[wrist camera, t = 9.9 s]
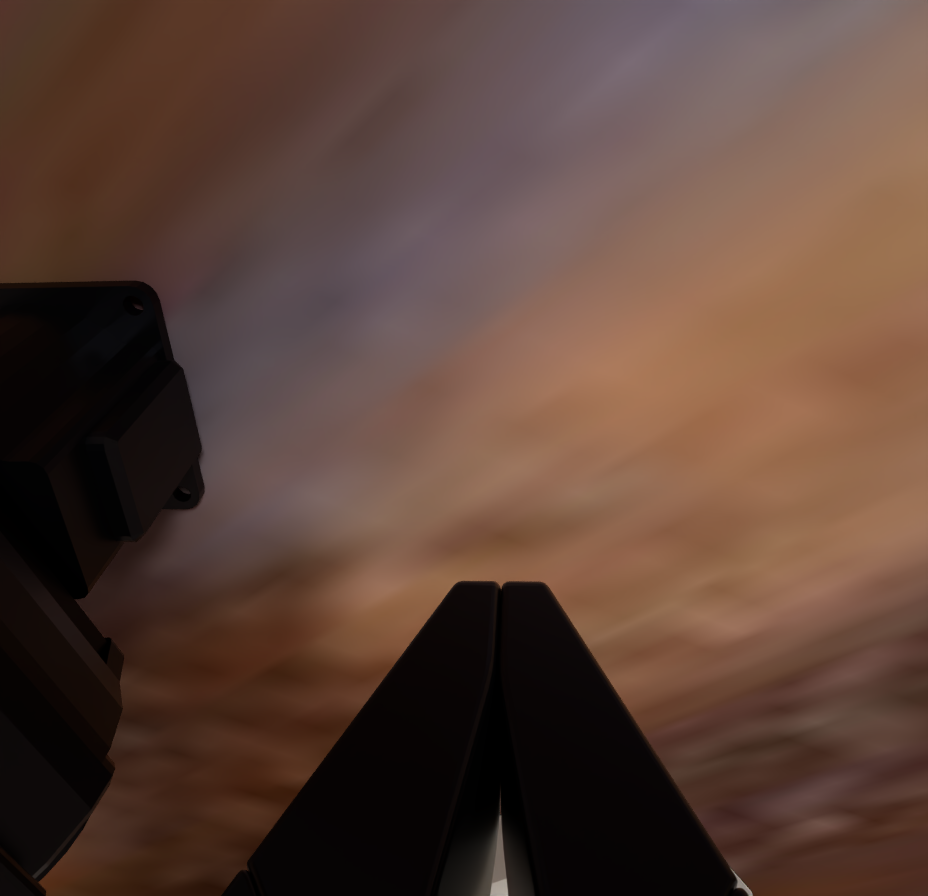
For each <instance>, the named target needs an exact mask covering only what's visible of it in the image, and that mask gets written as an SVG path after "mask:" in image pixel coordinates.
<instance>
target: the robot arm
mask: <svg viewBox="0 0 928 896" xmlns="http://www.w3.org/2000/svg"><path fill="white" fill-rule="evenodd" d="M130 296H135V297H137V298H138V299H140V300H141V302H142V304H143V305H144V310H140V309H137V308H135V307H134V306H133V305H132V303H131V302H130ZM201 449H202V448H201V443H200V438H199V434H198V430H197V426H196V421H195V417H194V413H193V409H192V404H191V400H190V396H189V392H188V387H187V383H186V379H185V375H184V370H183V368H182V367H181V366H180V365H179V364H178V363H177V362H176V361H175V360H174V358H173V354H172V350H171V346H170V342H169V337H168V333H167V329H166V325H165V321H164V317H163V312H162V308H161V304H160V300H159V298H158V295H157V293H156V292H155V291H154V290H153V288H152V287H151V286H149V285H147V284H146V283H144V282H140V281H95V282H47V283H0V896H46V890H45V889H44V888H43V887H42V886H41V885H40V884H39V883H38V882H39V881H40V880H41V879H42V878H43V877H44V876H46V874H47V873H48V872H49V871H50V870H51V869H52V868H53V867H54V866H55V864H56V863H57V862H58V861H59V860H60V859H61V858H62V857H63V856H64V854H65V853H66V852H67V851H68V850H69V848H70V847H71V845H72V844H73V843H74V841H75V840H76V838H77V837H78V835H79V834H80V833H81V831H82V830H83V828H84V827H85V825H86V823H87V821H88V819H89V817H90V815H91V814H92V812H93V811H94V809H95V807H96V806H97V804H98V803H99V801H100V799H101V798H102V796H103V795H104V793H105V791H106V790H107V788H108V787H109V785H110V782H111V779H112V776H113V773H114V770H115V765H114V762H113V761H112V760H111V759H110V758H109V756H108V755H107V753H108V751H109V750H110V747H111V744H112V741H113V738H114V735H115V731H116V728H117V725H118V722H119V719H120V716H121V713H122V709H123V708H122V699H121V690H120V677H121V672H122V666H123V660H124V655H123V653H122V652H121V651H120V650H119V648H118V647H117V646H116V644H115V643H114V642H113V640H112V639H111V638H104V637H103V636H102V635H101V633H100V632H99V631H98V629H97V628H96V627H95V626H94V624H93V623H92V622H91V620H90V619H89V618H88V617H87V615H86V614H85V613H84V611H83V610H82V609H81V608H80V606H79V605H78V604H77V602H76V601H75V600H74V599H81V598H85V597H86V595H87V594H88V593H89V592H90V590H91V589H92V587H93V586H94V585H95V583H96V582H97V580H98V579H99V577H100V576H101V575H102V573H103V572H104V570H105V569H106V568H107V566H108V565H109V563H110V562H111V560H112V559H113V558H114V556H115V555H116V553H117V552H118V550H119V549H120V548H121V546H122V545H123V543H124V542H137V541H138V540H139V539H140V538H141V537H142V536H143V535H144V534H145V533H146V532H147V530H148V529H149V527H150V526H151V524H152V523H153V521H154V520H155V518H156V517H157V515H158V514H159V512H160V511H161V509H189V508H193V507H194V506H196V505H197V504H198V502H199V500H200V499H201V497H202V495H203V494H204V483H203V479H202V475H201V471H200V467H199V462H198V458H197V456H198V455H199V453H200V452H201ZM179 486H181V487H185V488H186V489H188V490H189V492H190V493H191V494H186V493H183V492H182V491H181V490H180V489H179ZM500 791H501V824H502V837H503V850H504V859H505V869H506V878H507V888H508V896H749V895H748V894H747V892H746V891H745V890H744V889H743V888H737V883H738V881H737V878H736V876H735V874H734V873H733V871H732V870H731V868H730V867H729V865H728V864H727V862H726V860H725V859H724V857H723V856H722V854H721V853H720V851H719V850H718V848H717V847H716V845H715V843H714V842H713V840H712V839H711V837H710V836H709V834H708V833H707V831H706V830H705V828H704V826H703V825H702V823H701V822H700V820H699V819H698V817H697V816H696V814H695V813H694V811H693V809H692V808H691V806H690V805H689V803H688V802H687V800H686V799H685V797H684V795H683V794H682V792H681V791H680V789H679V788H678V786H677V785H676V783H675V782H674V780H673V778H672V777H671V775H670V774H669V772H668V771H667V769H666V768H665V766H664V765H663V763H662V761H661V760H660V758H659V757H658V755H657V754H656V752H655V751H654V749H653V748H652V746H651V744H650V743H649V741H648V740H647V738H646V737H645V735H644V734H643V732H642V731H641V729H640V727H639V726H638V724H637V723H636V721H635V720H634V718H633V717H632V715H631V714H630V712H629V710H628V709H627V707H626V706H625V704H624V703H623V701H622V700H621V698H620V696H619V695H618V693H617V692H616V690H615V689H614V687H613V686H612V684H611V683H610V681H609V679H608V678H607V676H606V675H605V673H604V672H603V670H602V669H601V667H600V666H599V664H598V662H597V661H596V659H595V658H594V656H593V655H592V653H591V652H590V650H589V649H588V647H587V645H586V644H585V642H584V641H583V639H582V638H581V636H580V635H579V633H578V632H577V630H576V628H575V627H574V625H573V624H572V622H571V621H570V619H569V618H568V616H567V614H566V613H565V611H564V610H563V608H562V607H561V605H560V604H559V602H558V601H557V599H556V597H555V596H554V594H553V593H552V591H551V590H550V588H549V587H548V586H547V585H546V584H545V583H543V582H525V581H509V582H506V583H504V584H503V586H502V589H501V588H500V586H499V584H498V583H497V582H494V581H460V582H458V583H456V584H455V585H454V586H453V587H452V589H451V590H450V591H449V593H448V594H447V595H446V597H445V598H444V599H443V601H442V602H441V603H440V605H439V606H438V607H437V609H436V610H435V611H434V613H433V614H432V615H431V617H430V618H429V619H428V621H427V622H426V623H425V625H424V626H423V627H422V629H421V630H420V631H419V633H418V634H417V635H416V637H415V638H414V639H413V641H412V642H411V643H410V645H409V646H408V647H407V649H406V650H405V651H404V653H403V654H402V655H401V657H400V658H399V659H398V661H397V662H396V663H395V665H394V666H393V667H392V669H391V670H390V671H389V673H388V674H387V675H386V677H385V678H384V679H383V681H382V682H381V683H380V685H379V686H378V687H377V689H376V690H375V691H374V693H373V694H372V695H371V697H370V698H369V700H368V701H367V702H366V704H365V705H364V706H363V708H362V709H361V710H360V712H359V713H358V714H357V716H356V717H355V718H354V720H353V721H352V722H351V724H350V725H349V726H348V728H347V729H346V730H345V732H344V733H343V734H342V736H341V737H340V738H339V740H338V741H337V742H336V744H335V745H334V746H333V748H332V749H331V750H330V752H329V753H328V754H327V756H326V757H325V758H324V760H323V761H322V762H321V764H320V765H319V766H318V768H317V769H316V770H315V772H314V773H313V774H312V776H311V777H310V778H309V780H308V781H307V782H306V784H305V785H304V786H303V788H302V789H301V790H300V792H299V793H298V794H297V796H296V797H295V798H294V800H293V801H292V802H291V804H290V805H289V806H288V808H287V809H286V810H285V812H284V813H283V814H282V816H281V817H280V818H279V820H278V821H277V823H276V824H275V825H274V827H273V828H272V829H271V831H270V832H269V833H268V835H267V836H266V837H265V839H264V840H263V841H262V843H261V844H260V845H259V847H258V848H257V849H256V851H255V852H254V853H253V855H252V856H251V857H250V859H249V860H248V862H247V868H248V871H249V872H248V871H247V870H241V871H240V872H239V873H238V874H237V875H236V876H235V878H234V879H233V880H232V882H231V883H230V885H229V886H228V887H227V889H226V890H225V891H224V893H223V894H222V895H221V896H490V893H491V885H492V878H493V871H494V863H495V856H496V848H497V839H498V830H499V817H500Z"/></svg>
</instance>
